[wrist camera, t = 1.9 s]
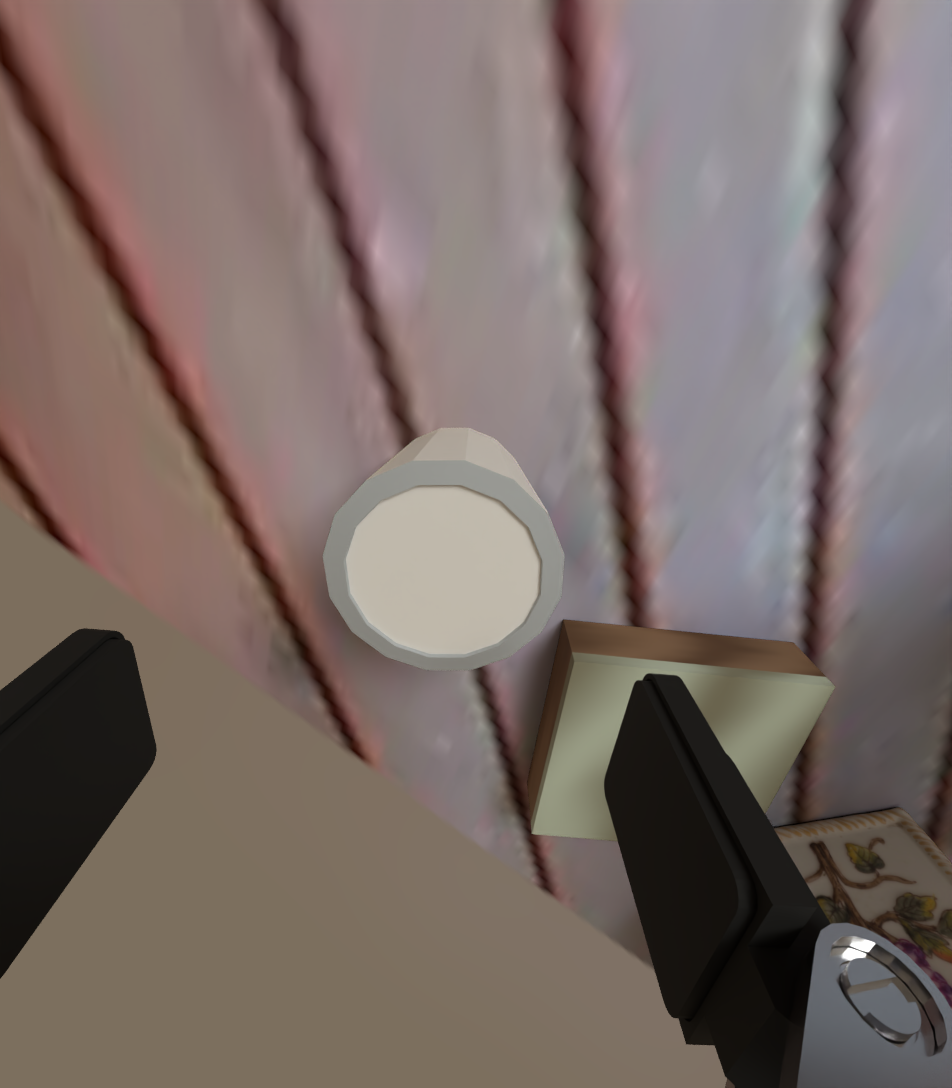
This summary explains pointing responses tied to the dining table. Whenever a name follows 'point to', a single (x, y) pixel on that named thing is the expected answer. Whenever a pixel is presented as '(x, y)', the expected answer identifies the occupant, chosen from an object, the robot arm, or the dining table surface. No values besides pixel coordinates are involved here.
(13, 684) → the robot arm
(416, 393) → the dining table surface
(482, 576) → the beige cylinder
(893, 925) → the decorative jar
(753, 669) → the plinth
